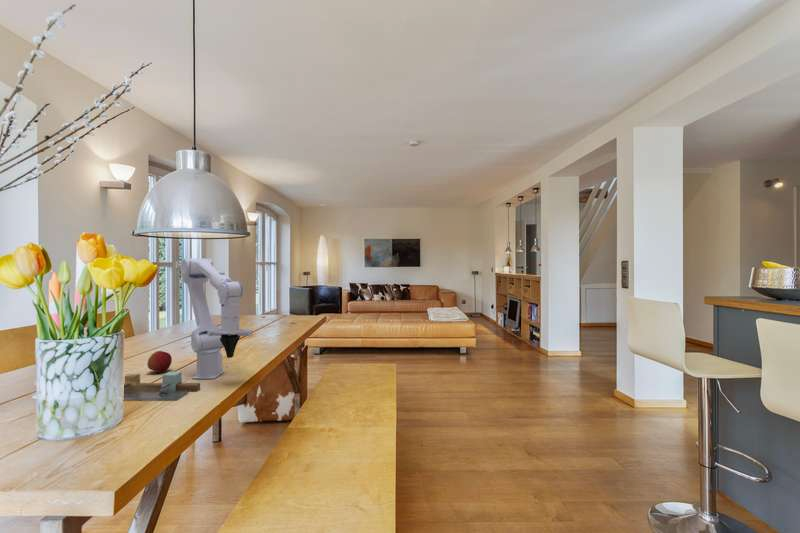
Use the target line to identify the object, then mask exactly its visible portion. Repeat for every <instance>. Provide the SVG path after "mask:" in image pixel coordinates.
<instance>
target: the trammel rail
mask: <svg viewBox="0 0 800 533" xmlns="http://www.w3.org/2000/svg"><path fill="white" fill-rule="evenodd" d="M123 384H124V390H160V389H161V386H162V385H163V382H141V373H129V374H127V375H125V376H124V383H123ZM176 390H188V393H189V392H190V393H191V392H198V391H200V390H201V382H182V383H178V384H176Z"/></svg>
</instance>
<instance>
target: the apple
mask: <svg viewBox="0 0 800 533" xmlns="http://www.w3.org/2000/svg"><path fill="white" fill-rule="evenodd" d="M172 362H173V361H172V355H171V354H170V353H169V352H166V351H162V350H158V351H154V352H153V353H152V354H151V355H150V356H149V357H148V358H147V368H148V369H149V370H151V371H154V372H157V373H159V374H161V373H165V372H167V371H168V370H169V368H170V367H171V364H172Z"/></svg>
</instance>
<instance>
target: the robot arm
mask: <svg viewBox="0 0 800 533" xmlns="http://www.w3.org/2000/svg"><path fill="white" fill-rule="evenodd" d="M179 269H180V274H181V278H182V281H183V283H184V284H186V286H187V290H188V294H189V297H190V298H189V299H190V302H191V306H192V310H193V314H194V318H195V319H194V320H195V324H196V328H195V329H193V331H191V334H190V339H191V341H190V345H191V349H192V351H193V352H194V353H196V374H195V375H194V376H192V377H191V378H192V379H194V380H196V379H197V380H204V379H205V380H210V379H211V380H214V379H216V378H217V377H219V376H221V375H222V374H224V373H225V370H224V369H223V354H222V352H221V349H222V348H224V351H225V355H226V358H227V359H232V358H233V357H234V354H235V351H236V347H237V344H238V342H239V340H240V339H241V337H252V336H253V335H254V333H253V332H254V331H253V329H244V328H240V298H242V296H243V294H244V287H243V284H242V282H240V280H236V281H234V280H232V279H231V277H229V276H228V275H227V274H226V273H225V271H220V270H219V271H218V270H217V269H216V268H215V267H214V262H213V260H212V259H211V258H209V257H208V258H207V257H206V258H188V257H185V258H183V259H182V260H181V262H180V268H179ZM208 281H209V283H210V284H211V286H212V287H213V288H214V289H215V290H217V295H218V299H219V304H220V316H221V317H220V327H219V325H216V324H214V323H213V322H212V317H211V313H210V309H209V306H208V301H207V297H206V293H205V289H204V284H206V283H207V282H208Z"/></svg>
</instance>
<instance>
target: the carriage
mask: <svg viewBox="0 0 800 533" xmlns="http://www.w3.org/2000/svg"><path fill="white" fill-rule="evenodd" d="M182 373H183V372H182V371H168V372H166V373H164V374H162V383H163V385H162V386H161V389H160V393H163V390H176V384H178V383H183V378H182V376H183V375H182Z"/></svg>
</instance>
